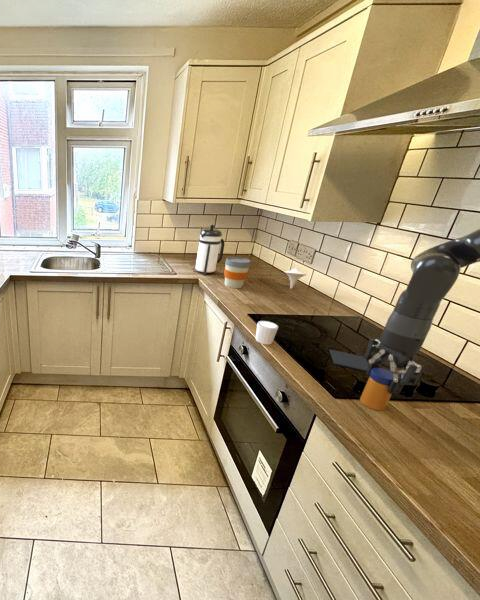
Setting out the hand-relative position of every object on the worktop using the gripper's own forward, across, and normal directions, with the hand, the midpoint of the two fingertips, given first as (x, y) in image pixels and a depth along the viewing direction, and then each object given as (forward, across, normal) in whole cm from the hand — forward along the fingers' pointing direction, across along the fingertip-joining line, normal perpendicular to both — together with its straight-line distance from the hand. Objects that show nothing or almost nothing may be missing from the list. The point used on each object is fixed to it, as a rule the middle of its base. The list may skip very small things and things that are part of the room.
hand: (381, 384), depth 85 cm
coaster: (+7, -22, +9) cm, 25 cm away
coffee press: (+7, -123, -10) cm, 124 cm away
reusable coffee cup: (+7, -98, -2) cm, 98 cm away
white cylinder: (+7, -34, -14) cm, 37 cm away
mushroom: (+7, -95, +28) cm, 99 cm away
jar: (+7, 0, 0) cm, 7 cm away
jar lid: (-3, 0, 0) cm, 3 cm away
